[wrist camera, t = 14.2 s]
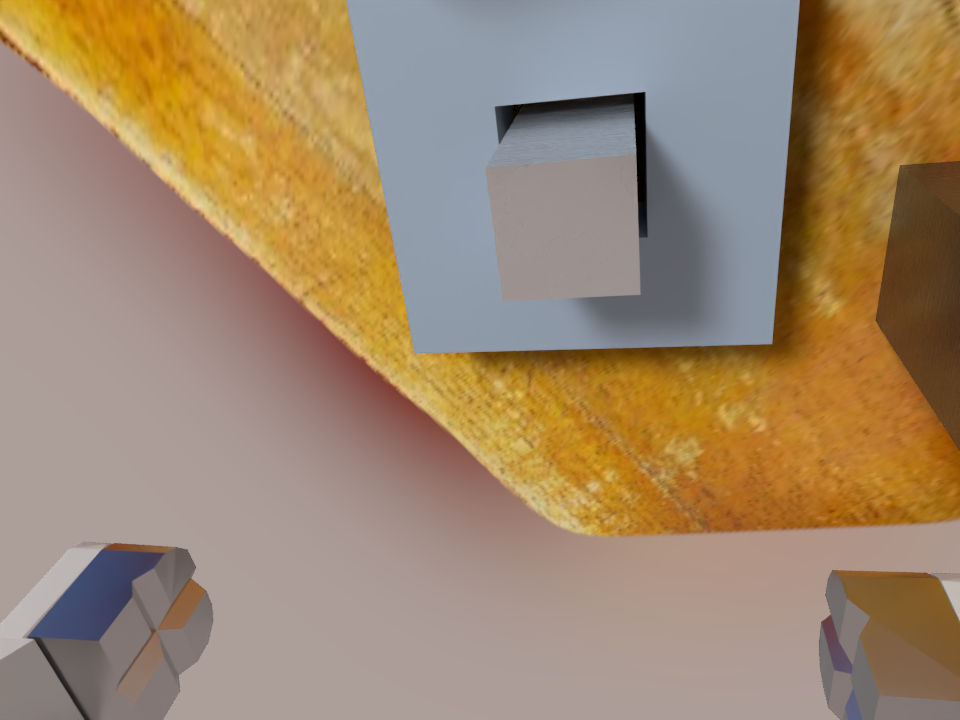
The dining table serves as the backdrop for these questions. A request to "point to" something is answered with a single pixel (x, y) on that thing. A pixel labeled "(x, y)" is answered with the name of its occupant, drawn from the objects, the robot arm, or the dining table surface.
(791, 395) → the dining table surface
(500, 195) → the square bit
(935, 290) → the dark grey rectangular slab
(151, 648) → the robot arm
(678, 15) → the bore block
